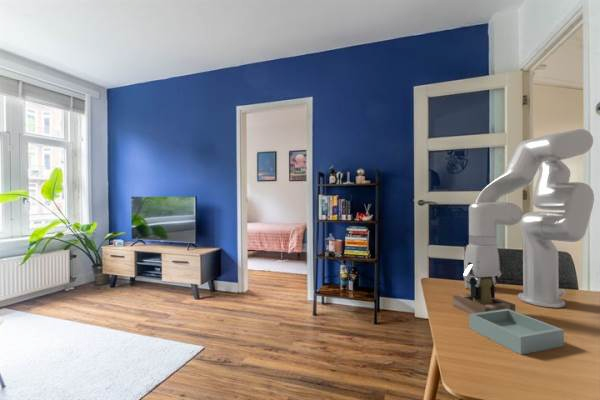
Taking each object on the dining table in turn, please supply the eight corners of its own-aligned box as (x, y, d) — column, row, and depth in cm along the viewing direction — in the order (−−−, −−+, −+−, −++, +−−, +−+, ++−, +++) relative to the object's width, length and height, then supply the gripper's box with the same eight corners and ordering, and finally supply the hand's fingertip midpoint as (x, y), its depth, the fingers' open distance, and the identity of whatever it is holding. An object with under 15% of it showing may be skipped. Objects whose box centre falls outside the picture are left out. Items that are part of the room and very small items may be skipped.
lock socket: (480, 302, 99) (480, 292, 99) (515, 315, 87) (515, 304, 87) (452, 306, 96) (452, 295, 96) (484, 320, 84) (484, 308, 84)
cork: (497, 315, 88) (497, 279, 88) (476, 313, 89) (476, 278, 89) (488, 308, 94) (488, 274, 94) (468, 306, 95) (468, 273, 95)
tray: (507, 322, 83) (507, 308, 83) (563, 346, 69) (563, 329, 69) (469, 328, 79) (469, 314, 79) (520, 354, 65) (520, 337, 65)
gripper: (492, 238, 98) (492, 291, 97) (451, 240, 93) (452, 296, 93) (513, 241, 90) (514, 299, 90) (471, 243, 86) (471, 304, 86)
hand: (482, 297), depth 91 cm, fingers closed on cork, 4 cm apart
